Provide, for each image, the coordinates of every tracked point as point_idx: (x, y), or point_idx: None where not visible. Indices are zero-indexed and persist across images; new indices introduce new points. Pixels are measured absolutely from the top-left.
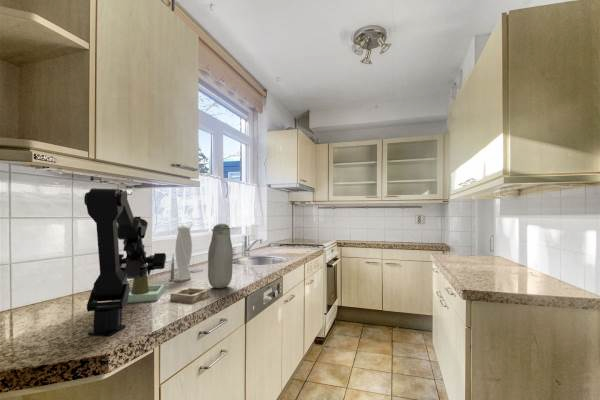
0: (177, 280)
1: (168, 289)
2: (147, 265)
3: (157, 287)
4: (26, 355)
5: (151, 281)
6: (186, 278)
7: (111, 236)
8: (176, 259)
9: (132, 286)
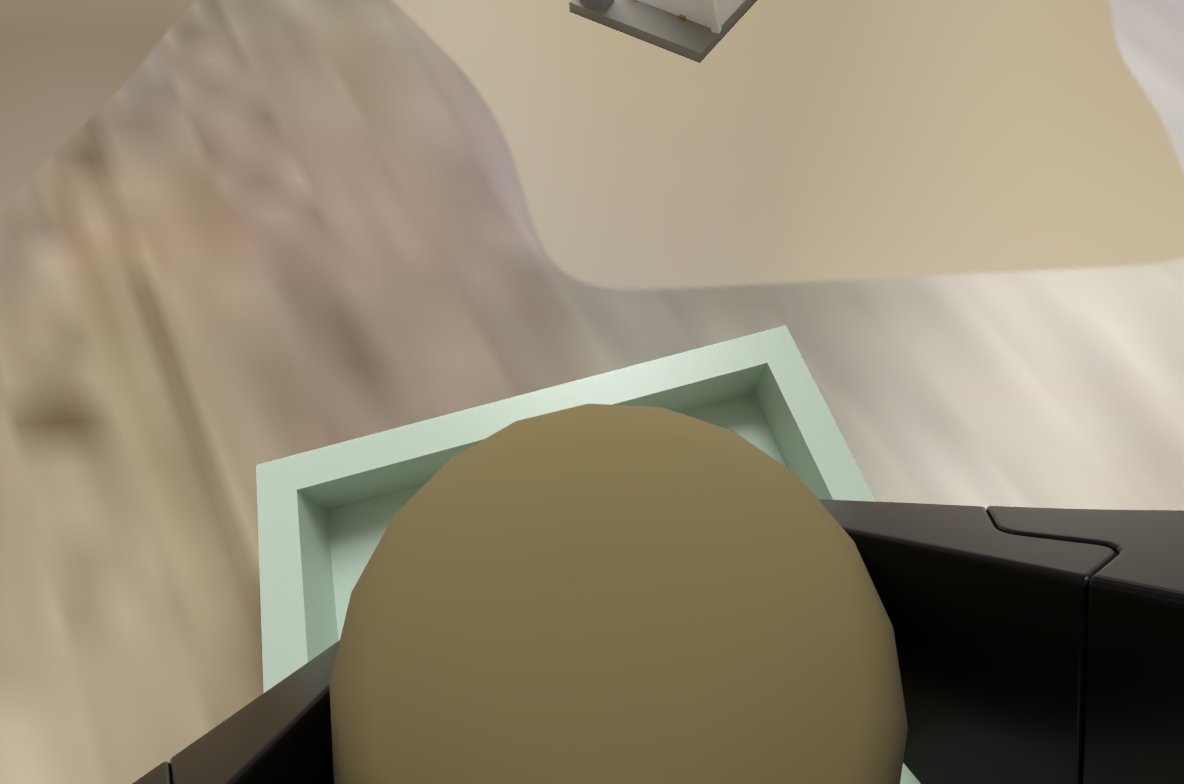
0: (676, 30)
1: (776, 312)
2: (867, 583)
3: (710, 391)
4: None
5: (405, 55)
6: None
7: None
8: None
9: (367, 445)
